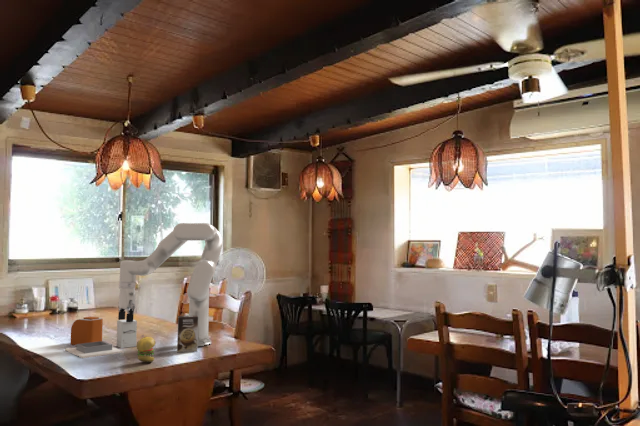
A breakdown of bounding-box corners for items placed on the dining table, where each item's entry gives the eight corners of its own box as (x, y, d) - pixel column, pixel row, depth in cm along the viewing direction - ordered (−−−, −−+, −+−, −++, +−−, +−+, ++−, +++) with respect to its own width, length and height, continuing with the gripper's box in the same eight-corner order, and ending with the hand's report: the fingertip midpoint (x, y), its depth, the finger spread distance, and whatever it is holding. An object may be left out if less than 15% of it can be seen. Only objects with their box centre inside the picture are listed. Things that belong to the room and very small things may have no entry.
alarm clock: (104, 344, 257) (105, 316, 258) (89, 347, 249) (89, 319, 250) (85, 341, 264) (86, 315, 265) (70, 344, 257) (71, 317, 258)
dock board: (123, 352, 236) (123, 345, 236) (82, 358, 224) (82, 350, 224) (104, 345, 254) (104, 338, 254) (65, 350, 241) (65, 343, 242)
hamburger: (158, 361, 217) (159, 332, 217) (148, 365, 210) (149, 335, 210) (142, 360, 219) (143, 332, 219) (132, 364, 212) (132, 334, 212)
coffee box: (177, 353, 235) (177, 317, 236) (177, 350, 241) (177, 315, 242) (197, 351, 237) (198, 316, 238) (197, 349, 243) (197, 314, 245)
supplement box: (121, 348, 246) (121, 321, 247) (116, 346, 251) (116, 320, 252) (136, 346, 250) (137, 320, 251) (131, 344, 256) (131, 318, 257)
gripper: (142, 286, 249) (140, 322, 248) (127, 284, 262) (126, 318, 261) (126, 287, 244) (125, 323, 243) (112, 284, 257) (111, 319, 256)
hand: (125, 320), depth 252 cm, fingers open, 9 cm apart
